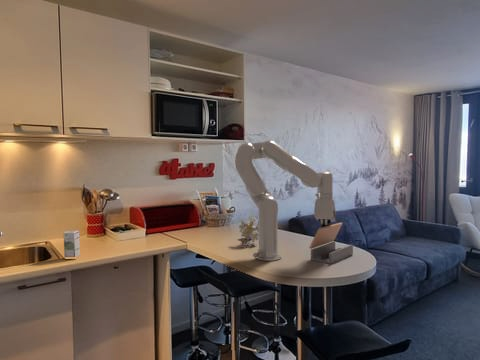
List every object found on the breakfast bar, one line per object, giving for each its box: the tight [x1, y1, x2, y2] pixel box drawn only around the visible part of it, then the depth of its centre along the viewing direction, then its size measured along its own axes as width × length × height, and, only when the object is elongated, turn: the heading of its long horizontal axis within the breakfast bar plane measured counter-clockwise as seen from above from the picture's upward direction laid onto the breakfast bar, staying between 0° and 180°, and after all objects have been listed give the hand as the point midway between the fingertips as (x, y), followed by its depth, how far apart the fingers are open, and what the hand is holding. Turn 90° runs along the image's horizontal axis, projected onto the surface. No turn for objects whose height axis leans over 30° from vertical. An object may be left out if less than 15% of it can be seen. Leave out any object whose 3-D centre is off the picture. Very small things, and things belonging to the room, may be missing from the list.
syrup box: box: [62, 229, 81, 258], centre depth 176 cm, size 6×6×14 cm
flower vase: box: [238, 215, 259, 248], centre depth 206 cm, size 13×18×25 cm
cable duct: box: [310, 241, 354, 265], centre depth 170 cm, size 22×11×5 cm, turn 135°
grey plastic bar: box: [321, 247, 342, 259], centre depth 170 cm, size 18×2×2 cm, turn 135°
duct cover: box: [309, 222, 343, 250], centre depth 172 cm, size 22×12×1 cm
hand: (325, 232), depth 172 cm, fingers closed
